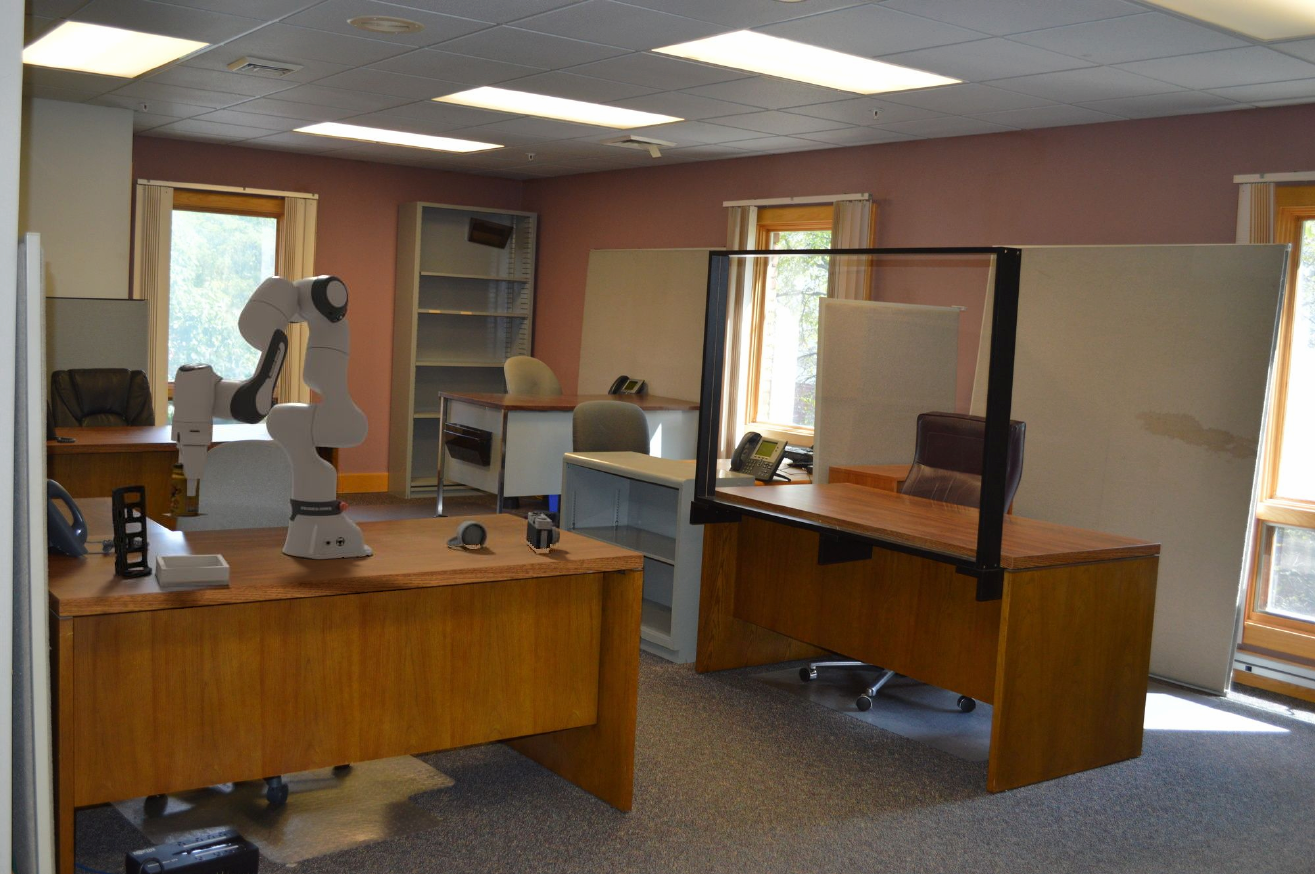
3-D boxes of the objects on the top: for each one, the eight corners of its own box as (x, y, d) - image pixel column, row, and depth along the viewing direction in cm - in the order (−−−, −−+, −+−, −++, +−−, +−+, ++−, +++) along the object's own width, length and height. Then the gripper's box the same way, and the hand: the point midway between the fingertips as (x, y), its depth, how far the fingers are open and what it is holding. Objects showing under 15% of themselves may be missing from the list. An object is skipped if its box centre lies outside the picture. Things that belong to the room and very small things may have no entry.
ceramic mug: (479, 544, 324) (480, 517, 324) (486, 549, 317) (488, 522, 316) (443, 544, 320) (444, 518, 319) (449, 550, 313) (450, 523, 312)
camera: (563, 554, 319) (565, 519, 318) (534, 554, 316) (537, 518, 315) (552, 544, 332) (554, 511, 331) (524, 544, 329) (527, 510, 329)
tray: (220, 571, 267) (220, 554, 266) (228, 584, 254) (229, 566, 254) (155, 573, 260) (156, 555, 260) (161, 586, 248) (161, 568, 247)
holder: (140, 578, 252) (135, 490, 251) (105, 580, 252) (99, 491, 250) (158, 569, 263) (153, 484, 262) (124, 570, 263) (119, 485, 261)
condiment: (161, 514, 259) (163, 462, 258) (191, 511, 267) (193, 461, 266) (184, 518, 256) (186, 466, 255) (213, 515, 264) (215, 464, 263)
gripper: (173, 429, 267) (170, 487, 268) (181, 437, 249) (178, 499, 250) (202, 430, 270) (199, 487, 271) (211, 438, 252) (208, 499, 253)
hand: (189, 493), depth 261 cm, fingers closed on condiment, 6 cm apart
